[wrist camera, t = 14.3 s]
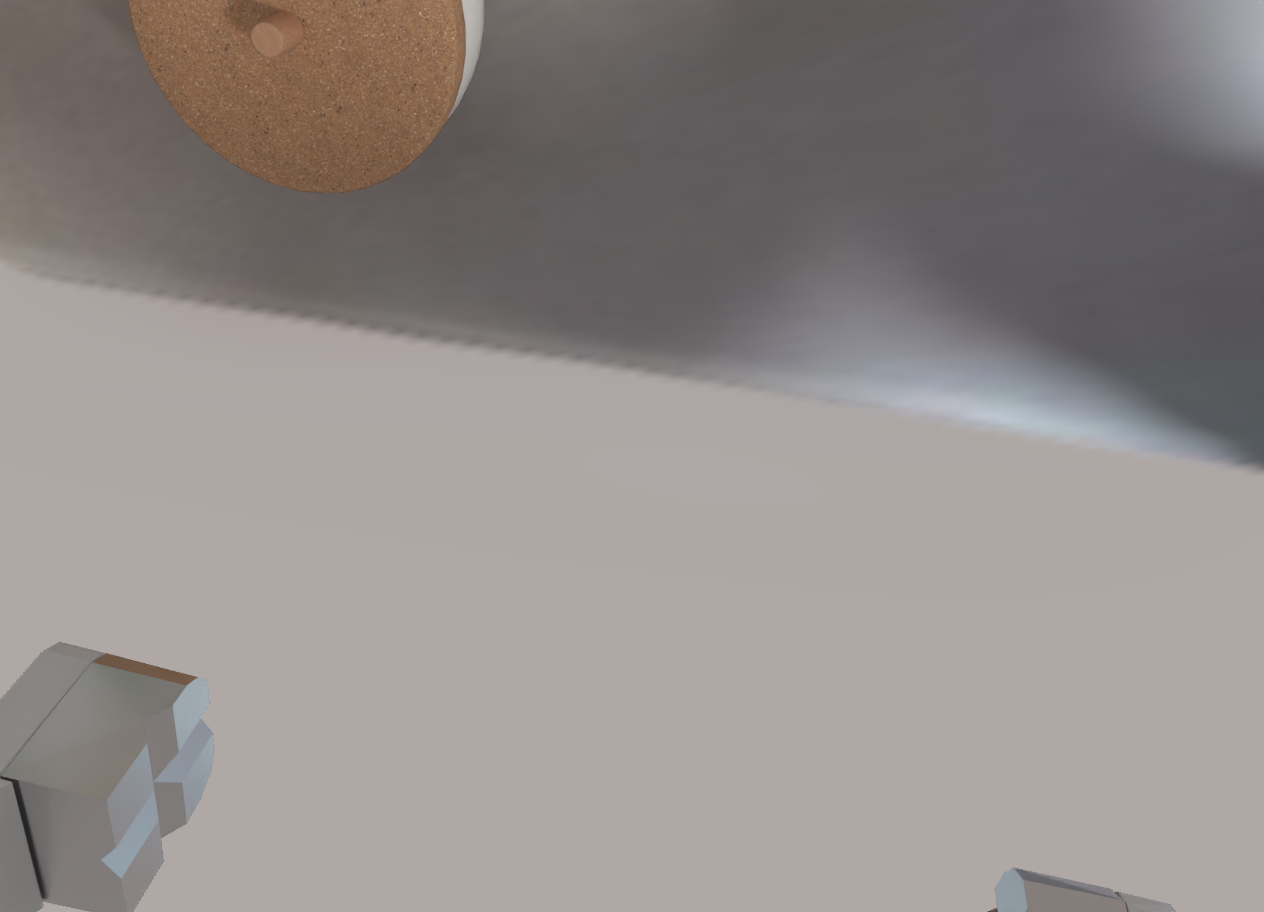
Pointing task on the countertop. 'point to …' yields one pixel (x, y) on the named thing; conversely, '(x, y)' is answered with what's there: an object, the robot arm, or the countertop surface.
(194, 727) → the robot arm
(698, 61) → the countertop surface
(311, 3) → the lidded jar
